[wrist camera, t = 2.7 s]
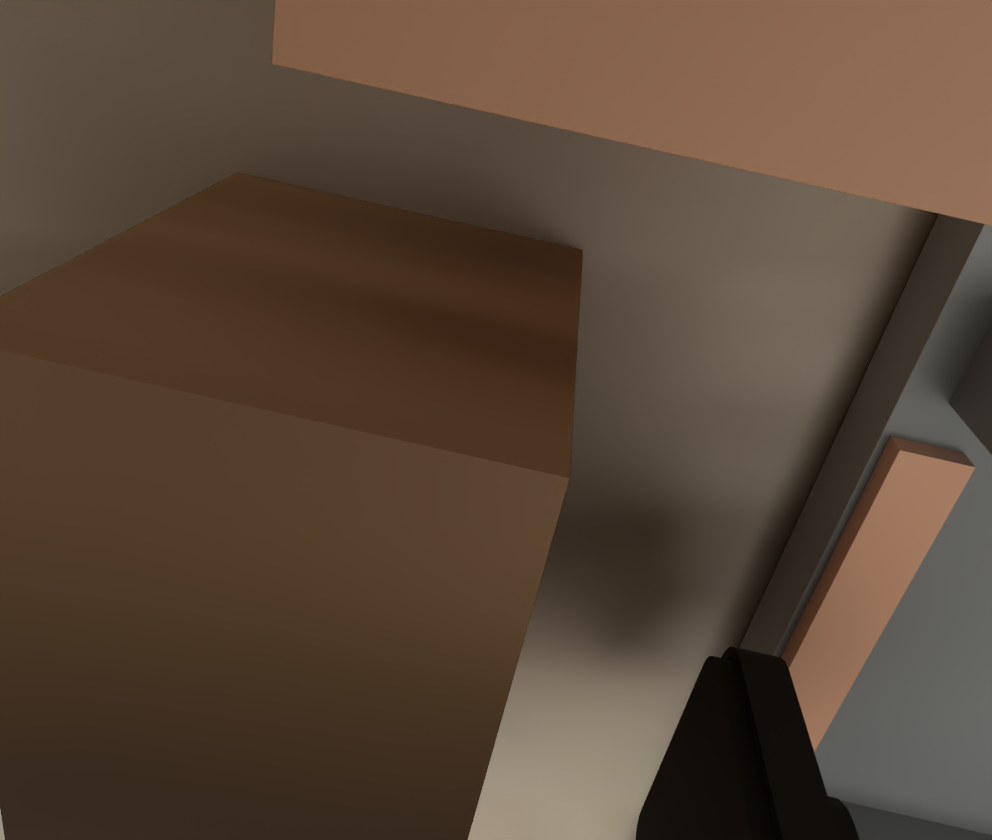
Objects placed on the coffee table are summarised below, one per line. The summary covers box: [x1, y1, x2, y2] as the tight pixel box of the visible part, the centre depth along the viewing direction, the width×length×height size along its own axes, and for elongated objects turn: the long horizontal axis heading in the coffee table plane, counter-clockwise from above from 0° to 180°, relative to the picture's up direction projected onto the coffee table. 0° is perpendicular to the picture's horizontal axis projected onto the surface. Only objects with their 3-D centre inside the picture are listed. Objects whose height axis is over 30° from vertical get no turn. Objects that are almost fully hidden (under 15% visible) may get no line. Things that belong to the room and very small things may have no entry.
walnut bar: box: [0, 173, 583, 840], centre depth 9 cm, size 8×4×5 cm, turn 169°
